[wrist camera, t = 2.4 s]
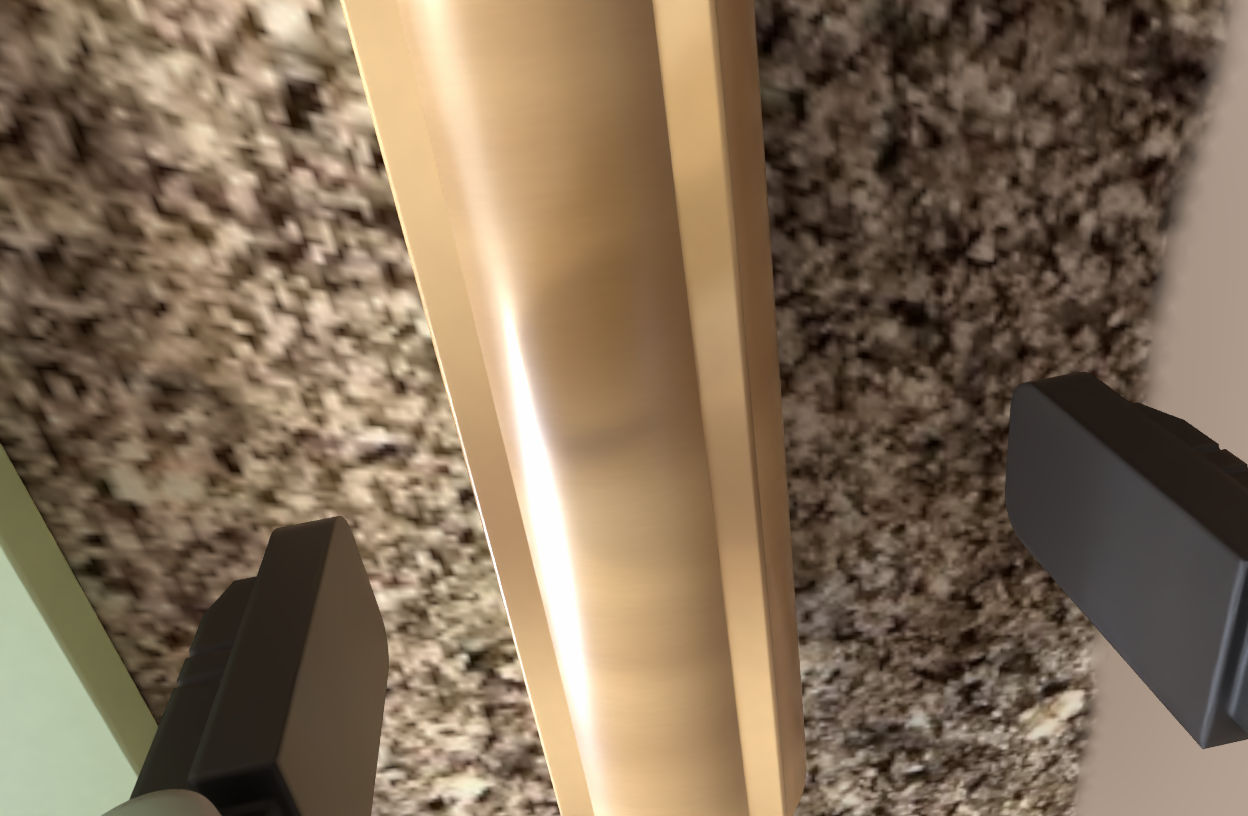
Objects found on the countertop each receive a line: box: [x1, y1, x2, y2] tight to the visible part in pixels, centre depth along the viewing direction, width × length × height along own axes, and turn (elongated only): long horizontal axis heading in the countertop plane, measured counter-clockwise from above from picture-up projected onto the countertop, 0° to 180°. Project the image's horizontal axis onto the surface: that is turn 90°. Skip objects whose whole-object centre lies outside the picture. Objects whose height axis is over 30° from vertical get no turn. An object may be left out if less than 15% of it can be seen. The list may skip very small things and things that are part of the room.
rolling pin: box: [340, 0, 806, 816], centre depth 14 cm, size 28×5×5 cm, turn 8°
